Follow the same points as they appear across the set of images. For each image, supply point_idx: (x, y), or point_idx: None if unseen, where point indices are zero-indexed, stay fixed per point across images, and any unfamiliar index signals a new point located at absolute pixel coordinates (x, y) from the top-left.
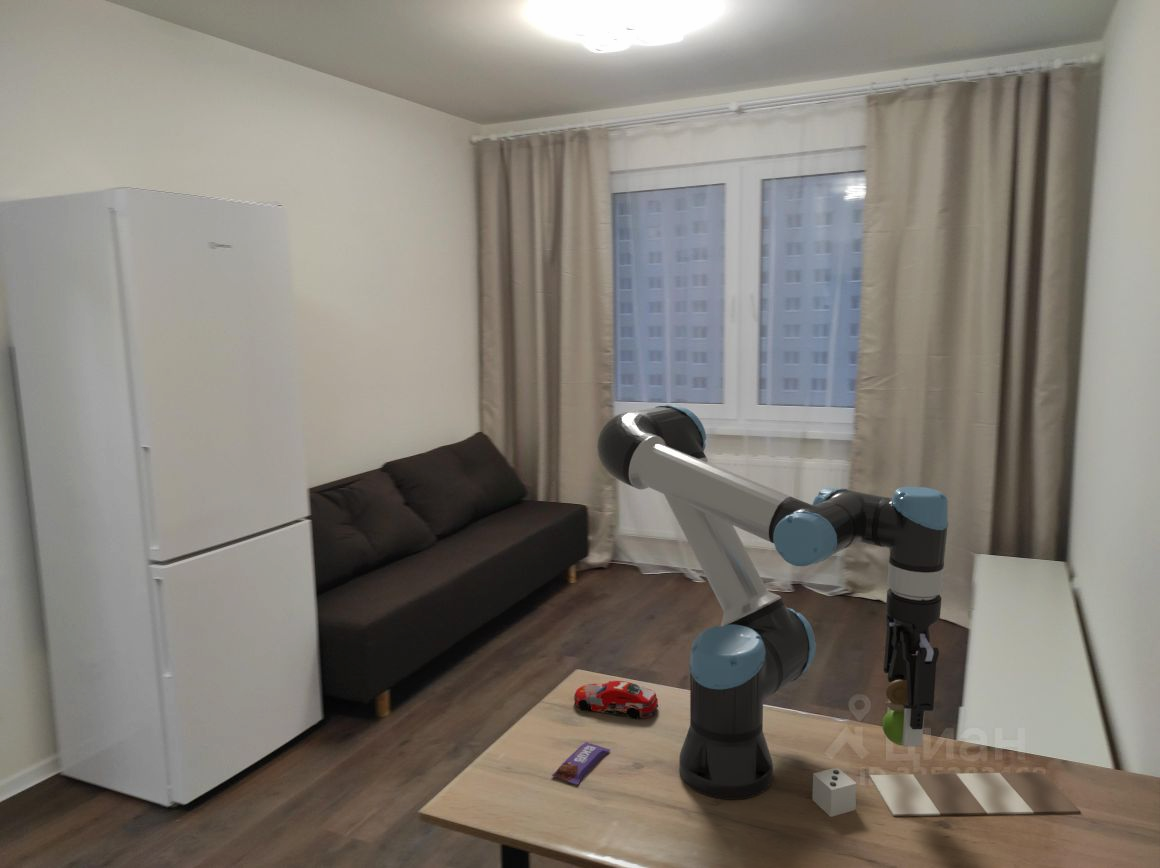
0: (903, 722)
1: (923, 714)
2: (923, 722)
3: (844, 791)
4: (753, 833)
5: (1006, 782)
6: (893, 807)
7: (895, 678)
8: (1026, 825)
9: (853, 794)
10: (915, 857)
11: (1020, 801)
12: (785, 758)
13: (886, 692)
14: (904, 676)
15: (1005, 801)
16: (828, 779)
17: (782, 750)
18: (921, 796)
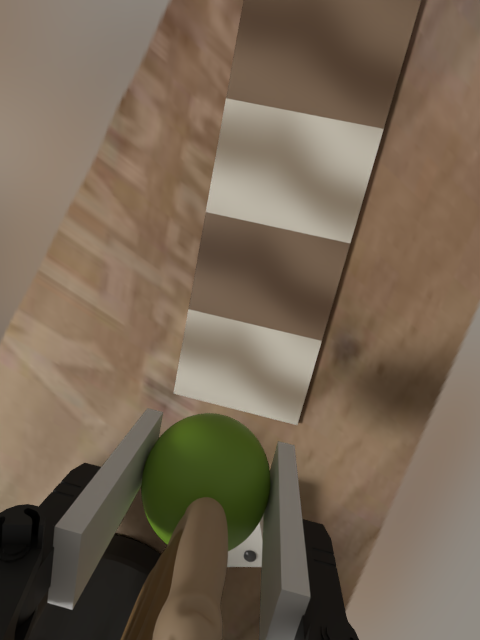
0: (243, 536)
1: (343, 604)
2: (301, 516)
3: (262, 530)
4: None
5: (265, 109)
6: (279, 412)
7: (23, 613)
8: (410, 181)
9: None
10: (410, 456)
11: (339, 131)
12: None
13: None
14: (23, 600)
15: (329, 170)
16: (231, 553)
17: None
18: (262, 341)
